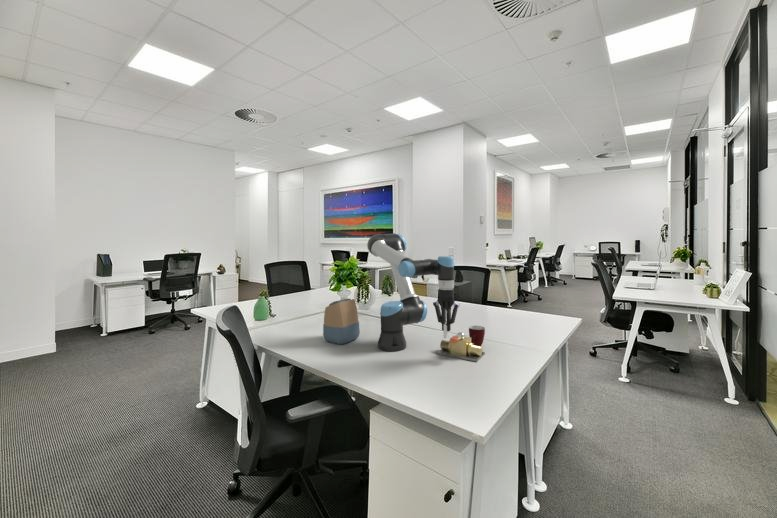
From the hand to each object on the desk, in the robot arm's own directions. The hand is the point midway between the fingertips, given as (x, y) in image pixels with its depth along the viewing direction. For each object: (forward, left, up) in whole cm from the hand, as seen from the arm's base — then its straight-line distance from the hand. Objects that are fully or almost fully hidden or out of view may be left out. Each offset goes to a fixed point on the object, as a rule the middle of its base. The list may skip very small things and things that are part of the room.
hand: (446, 337), depth 163 cm
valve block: (+5, +7, -10) cm, 13 cm away
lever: (+5, +3, -2) cm, 6 cm away
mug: (+8, +21, -10) cm, 25 cm away
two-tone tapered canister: (-61, -6, -10) cm, 62 cm away
